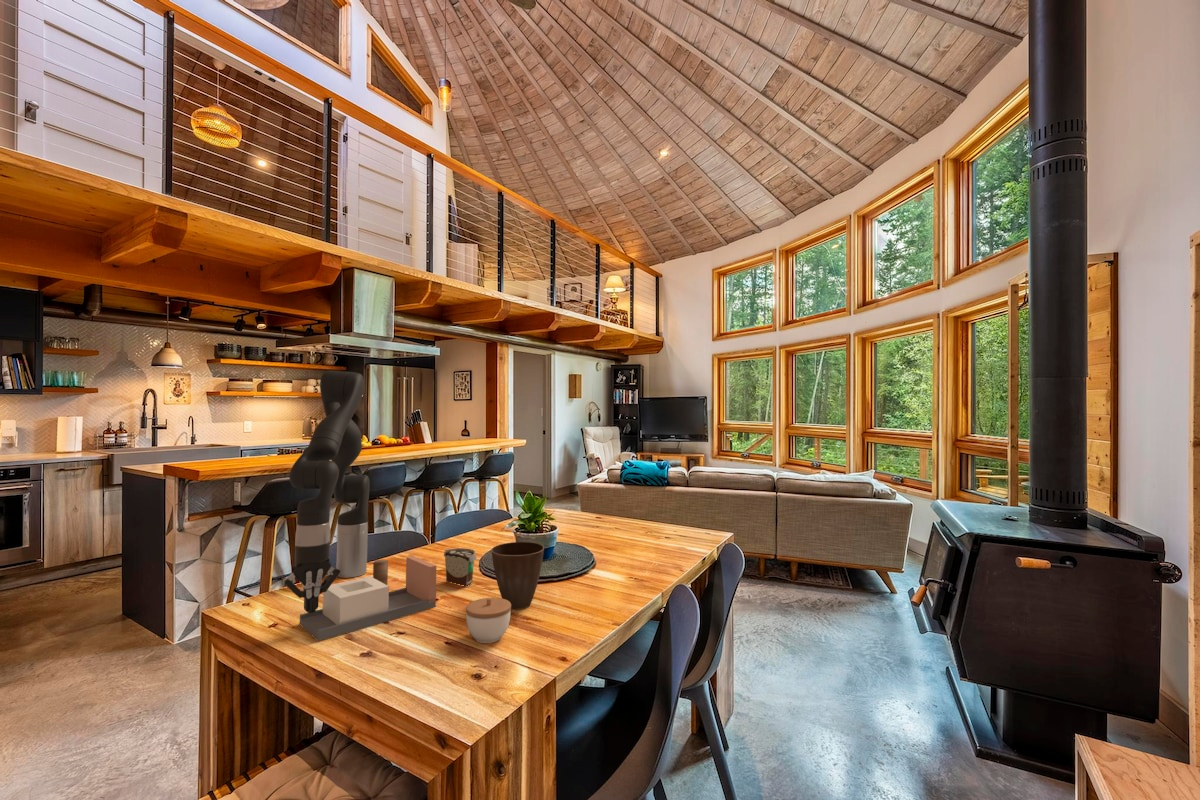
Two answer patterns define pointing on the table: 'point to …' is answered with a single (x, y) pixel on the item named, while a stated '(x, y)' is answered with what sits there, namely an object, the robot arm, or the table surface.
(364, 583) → the socket block
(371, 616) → the track
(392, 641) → the table surface
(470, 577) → the food container
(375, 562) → the dowel
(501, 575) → the plant pot
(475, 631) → the lidded jar
